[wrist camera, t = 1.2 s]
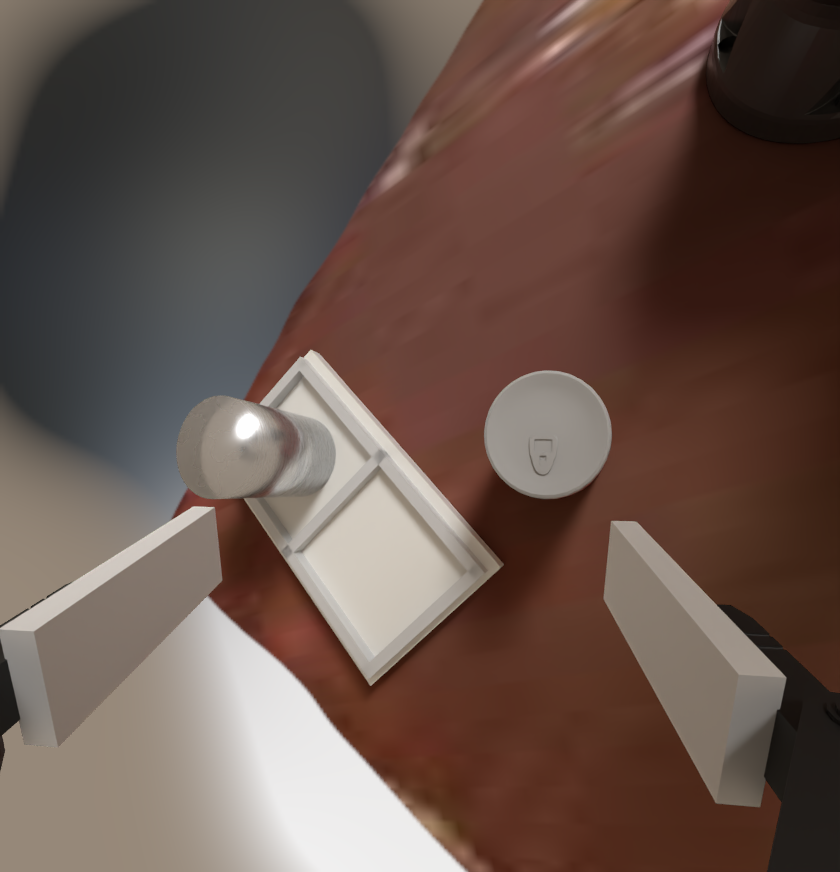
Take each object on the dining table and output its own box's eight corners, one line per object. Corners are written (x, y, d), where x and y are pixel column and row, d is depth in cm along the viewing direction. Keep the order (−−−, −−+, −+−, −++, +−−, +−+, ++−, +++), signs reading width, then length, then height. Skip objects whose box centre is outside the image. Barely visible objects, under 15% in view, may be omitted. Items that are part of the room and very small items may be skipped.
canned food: (523, 505, 38) (499, 511, 28) (501, 415, 39) (469, 389, 29) (619, 485, 35) (630, 483, 25) (590, 390, 37) (591, 352, 27)
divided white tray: (319, 353, 47) (304, 346, 44) (504, 564, 38) (498, 570, 35) (226, 459, 50) (207, 457, 47) (378, 679, 41) (364, 691, 38)
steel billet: (304, 400, 45) (221, 374, 35) (350, 457, 42) (274, 446, 32) (255, 455, 47) (161, 446, 36) (297, 513, 44) (208, 521, 34)
